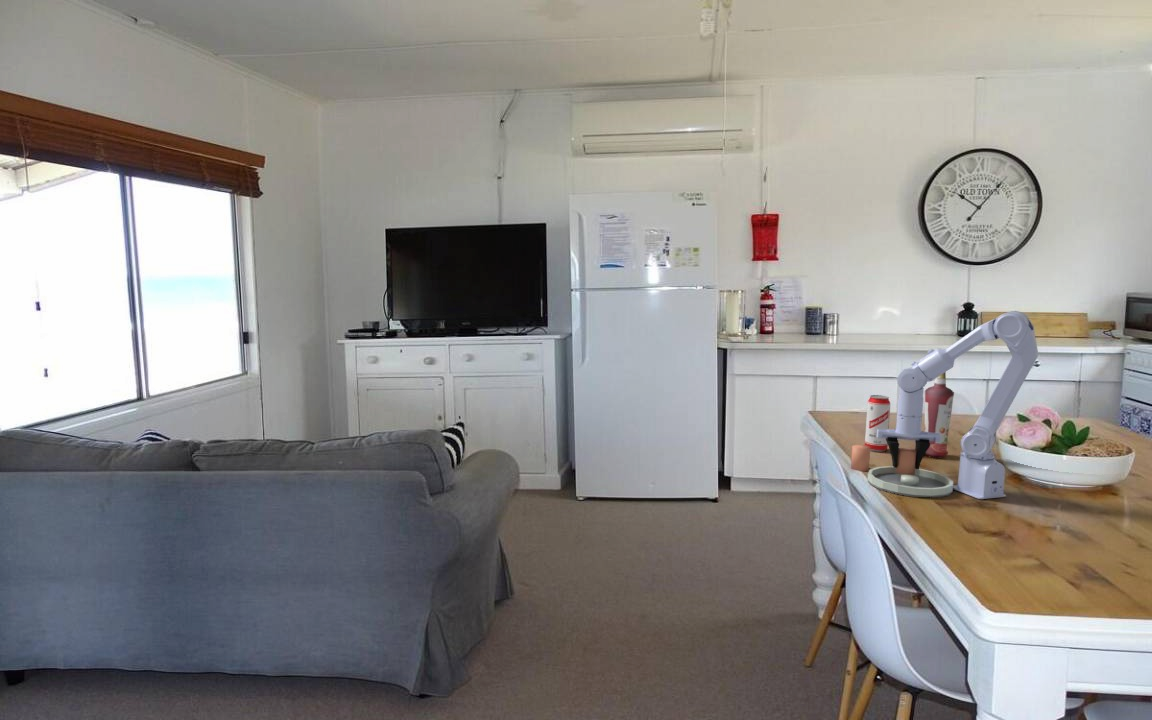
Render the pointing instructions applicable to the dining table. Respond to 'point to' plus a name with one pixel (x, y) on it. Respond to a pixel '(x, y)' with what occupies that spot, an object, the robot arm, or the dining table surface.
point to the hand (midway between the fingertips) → (905, 467)
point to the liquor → (938, 415)
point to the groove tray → (921, 483)
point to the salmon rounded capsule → (906, 461)
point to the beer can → (877, 422)
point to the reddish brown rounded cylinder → (860, 457)
